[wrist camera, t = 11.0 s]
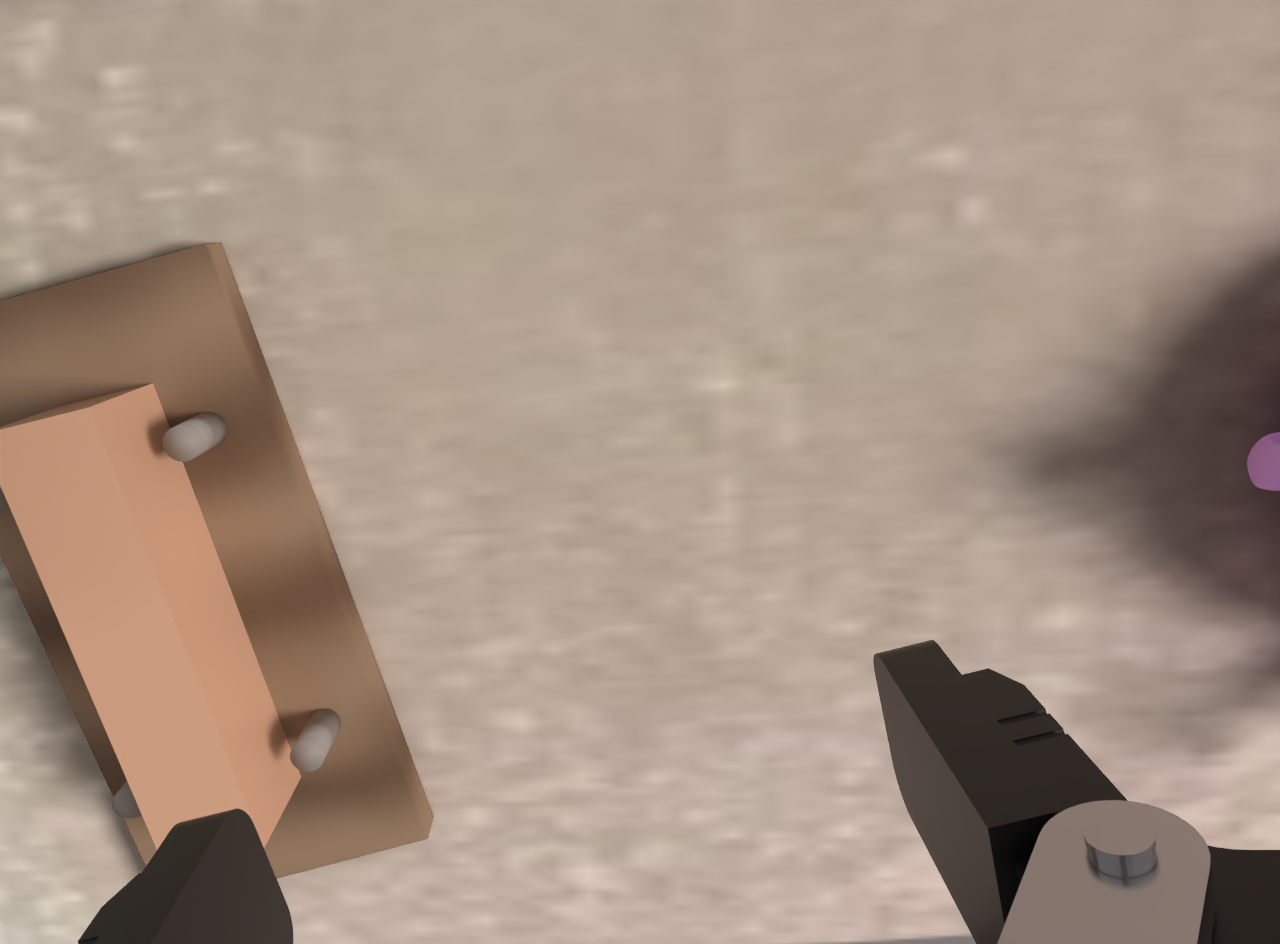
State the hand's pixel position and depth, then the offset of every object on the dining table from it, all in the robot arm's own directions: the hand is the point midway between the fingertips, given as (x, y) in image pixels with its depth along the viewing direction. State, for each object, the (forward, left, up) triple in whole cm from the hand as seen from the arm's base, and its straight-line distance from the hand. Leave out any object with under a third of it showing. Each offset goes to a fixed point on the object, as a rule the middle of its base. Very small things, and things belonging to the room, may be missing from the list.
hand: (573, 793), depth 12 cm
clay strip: (+3, -16, -24) cm, 29 cm away
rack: (+3, -16, -25) cm, 30 cm away
